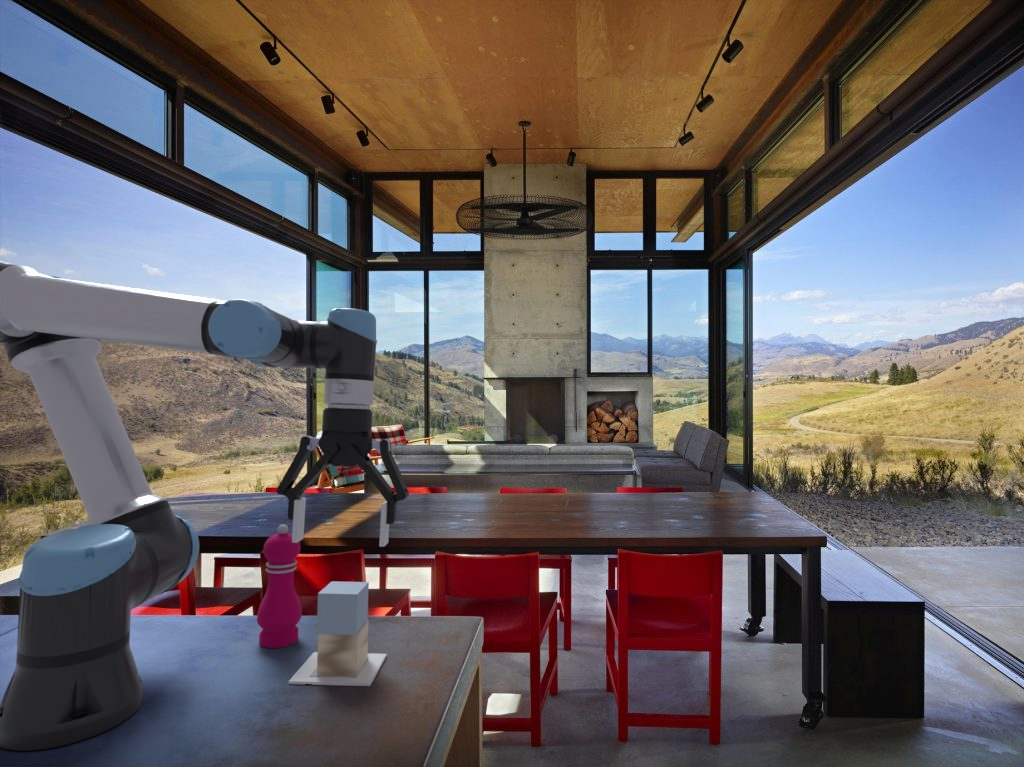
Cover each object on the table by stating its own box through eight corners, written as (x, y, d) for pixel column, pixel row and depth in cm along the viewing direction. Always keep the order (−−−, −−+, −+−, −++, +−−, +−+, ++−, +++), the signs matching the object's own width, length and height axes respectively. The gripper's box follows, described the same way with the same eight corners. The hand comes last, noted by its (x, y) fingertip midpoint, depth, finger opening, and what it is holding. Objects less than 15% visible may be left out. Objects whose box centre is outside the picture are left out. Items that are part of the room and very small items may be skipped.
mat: (288, 684, 82) (288, 680, 82) (313, 654, 92) (314, 651, 92) (369, 686, 82) (370, 682, 82) (386, 656, 92) (386, 653, 92)
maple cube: (316, 674, 84) (318, 633, 84) (330, 657, 90) (331, 619, 90) (356, 675, 84) (357, 634, 84) (367, 658, 90) (368, 619, 90)
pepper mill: (263, 653, 92) (268, 530, 93) (250, 639, 97) (254, 523, 98) (307, 642, 97) (311, 525, 98) (292, 629, 102) (296, 518, 103)
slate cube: (316, 634, 84) (318, 593, 84) (330, 619, 90) (331, 581, 90) (356, 634, 84) (357, 594, 84) (367, 620, 90) (368, 582, 90)
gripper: (259, 403, 85) (250, 544, 84) (422, 410, 85) (415, 552, 84) (280, 404, 93) (272, 533, 92) (430, 410, 92) (424, 540, 91)
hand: (340, 542), depth 88 cm, fingers open, 13 cm apart
